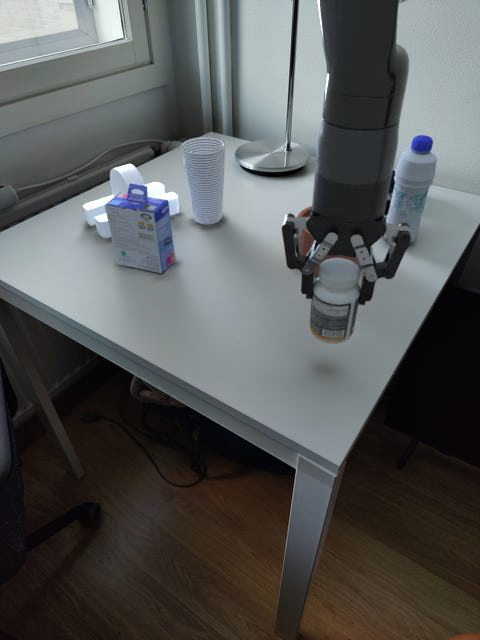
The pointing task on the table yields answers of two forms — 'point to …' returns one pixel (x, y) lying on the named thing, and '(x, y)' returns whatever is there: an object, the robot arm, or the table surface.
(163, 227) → the ink cartridge box
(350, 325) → the pill bottle
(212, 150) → the cup
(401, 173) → the bottle
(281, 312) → the table surface
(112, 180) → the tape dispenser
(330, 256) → the crock
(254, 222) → the table surface
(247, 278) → the table surface
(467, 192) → the table surface
